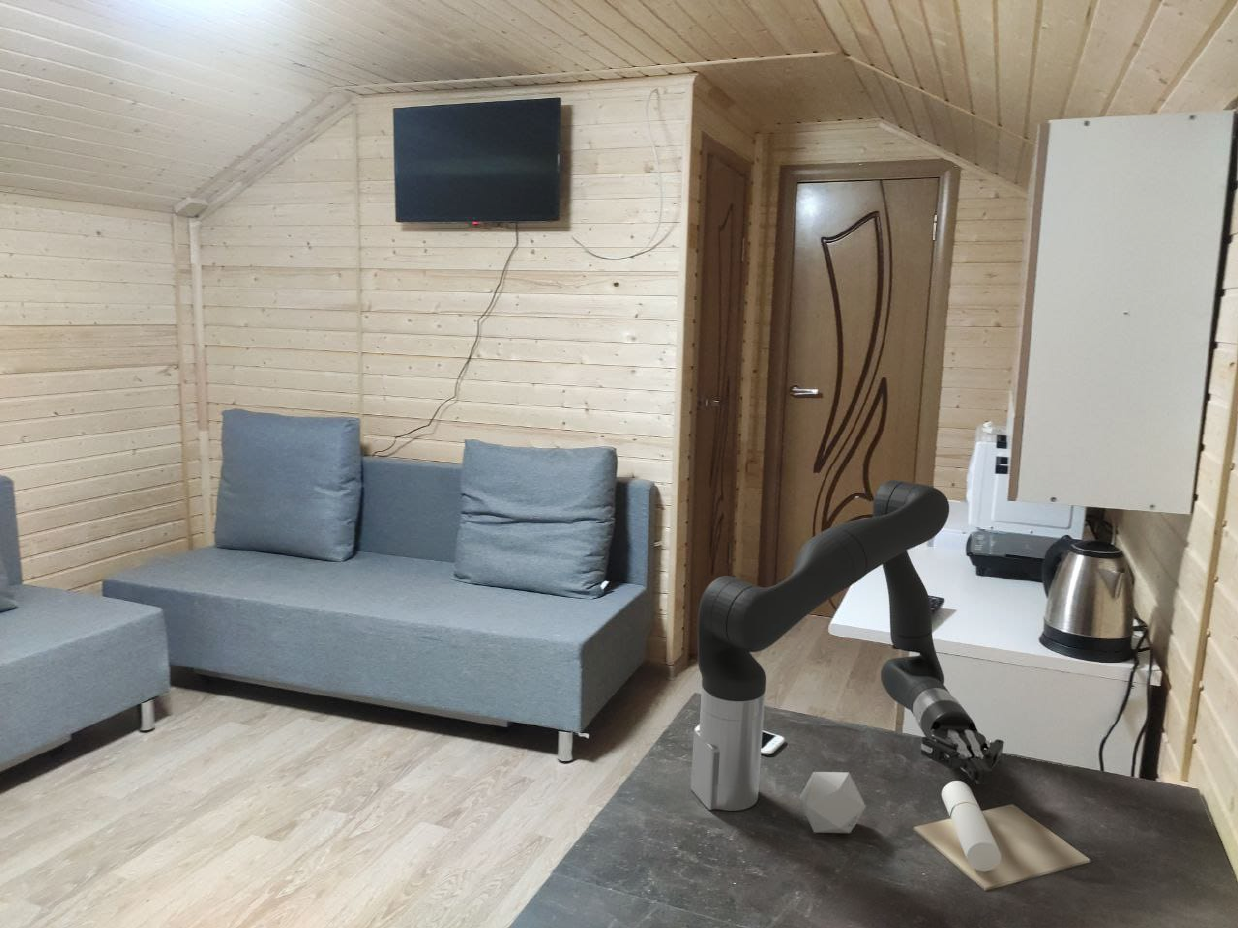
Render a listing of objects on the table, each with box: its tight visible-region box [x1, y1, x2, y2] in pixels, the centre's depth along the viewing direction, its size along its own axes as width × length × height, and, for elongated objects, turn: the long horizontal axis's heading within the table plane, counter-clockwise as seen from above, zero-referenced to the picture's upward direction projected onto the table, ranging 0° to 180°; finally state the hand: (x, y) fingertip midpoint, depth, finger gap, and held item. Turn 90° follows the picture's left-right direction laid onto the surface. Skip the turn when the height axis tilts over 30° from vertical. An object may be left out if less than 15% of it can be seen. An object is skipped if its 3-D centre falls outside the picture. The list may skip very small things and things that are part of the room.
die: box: [798, 771, 867, 834], centre depth 131 cm, size 8×9×10 cm
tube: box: [941, 780, 1001, 872], centre depth 129 cm, size 4×4×15 cm
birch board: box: [913, 804, 1091, 892], centre depth 129 cm, size 18×14×1 cm
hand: (983, 778), depth 133 cm, fingers closed
